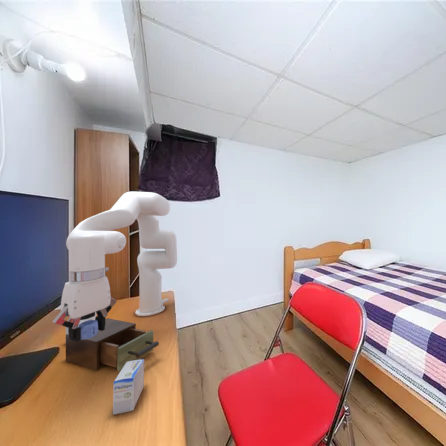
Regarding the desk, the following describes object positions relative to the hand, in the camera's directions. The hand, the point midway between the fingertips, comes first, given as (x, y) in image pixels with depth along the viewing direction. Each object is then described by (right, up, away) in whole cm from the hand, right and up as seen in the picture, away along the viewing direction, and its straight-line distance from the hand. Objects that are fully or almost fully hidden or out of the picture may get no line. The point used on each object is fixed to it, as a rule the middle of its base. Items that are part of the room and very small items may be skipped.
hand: (88, 334), depth 64 cm
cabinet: (-7, -14, +13) cm, 20 cm away
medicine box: (+18, -15, -7) cm, 24 cm away
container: (-22, -13, +21) cm, 33 cm away
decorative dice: (0, -1, 0) cm, 1 cm away
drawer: (+5, -13, +9) cm, 17 cm away
